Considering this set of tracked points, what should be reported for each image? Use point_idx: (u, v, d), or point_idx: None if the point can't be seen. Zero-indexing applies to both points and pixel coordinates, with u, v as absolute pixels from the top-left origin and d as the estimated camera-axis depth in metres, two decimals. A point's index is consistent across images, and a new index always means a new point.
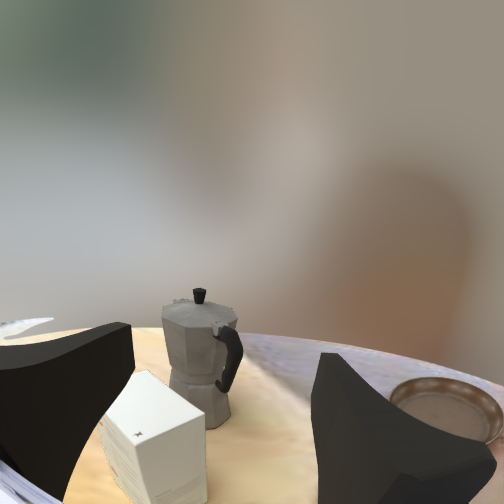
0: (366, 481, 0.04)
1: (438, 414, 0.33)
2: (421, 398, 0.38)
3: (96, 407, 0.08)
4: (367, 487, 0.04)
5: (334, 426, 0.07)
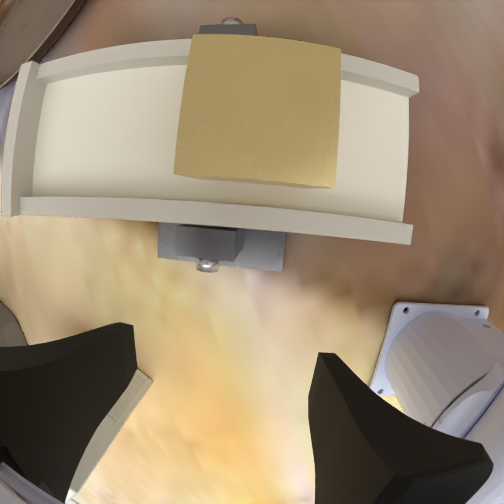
0: (361, 481, 0.04)
1: (25, 21, 0.16)
2: None
3: (98, 408, 0.08)
4: (362, 487, 0.04)
5: (331, 426, 0.07)
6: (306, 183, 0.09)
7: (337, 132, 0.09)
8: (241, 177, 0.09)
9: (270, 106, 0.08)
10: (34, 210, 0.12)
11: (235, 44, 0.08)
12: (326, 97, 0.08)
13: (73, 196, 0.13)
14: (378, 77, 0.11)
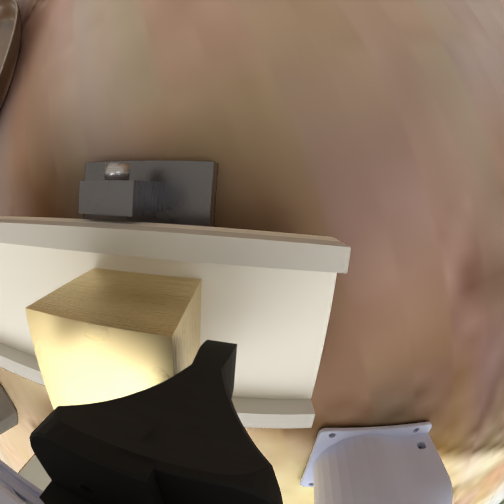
0: None
1: None
2: None
3: None
4: None
5: None
6: None
7: None
8: None
9: (109, 398, 0.07)
10: None
11: (61, 329, 0.07)
12: None
13: (14, 355, 0.12)
14: (284, 265, 0.11)
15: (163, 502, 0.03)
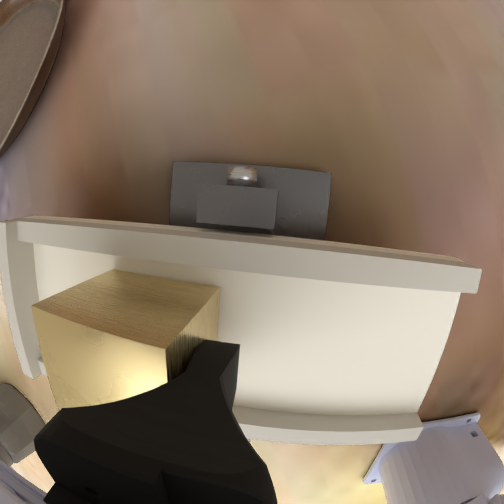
0: None
1: None
2: None
3: None
4: None
5: None
6: None
7: None
8: None
9: (106, 402, 0.07)
10: None
11: (62, 329, 0.07)
12: None
13: None
14: (431, 286, 0.09)
15: None
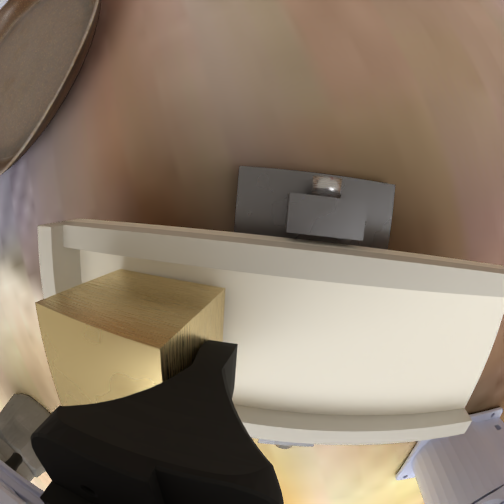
0: None
1: (11, 74, 0.15)
2: None
3: None
4: None
5: None
6: None
7: None
8: None
9: (106, 400, 0.07)
10: None
11: (64, 326, 0.07)
12: None
13: None
14: (492, 293, 0.09)
15: (164, 502, 0.03)
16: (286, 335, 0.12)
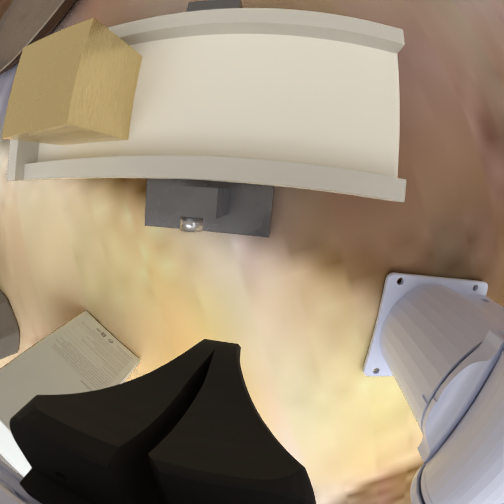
0: None
1: (25, 11, 0.16)
2: (0, 33, 0.16)
3: None
4: None
5: None
6: (51, 125, 0.09)
7: (77, 81, 0.08)
8: (26, 132, 0.09)
9: (43, 80, 0.08)
10: (35, 174, 0.13)
11: (38, 46, 0.08)
12: (73, 59, 0.08)
13: None
14: (357, 31, 0.10)
15: None
16: (180, 80, 0.13)
